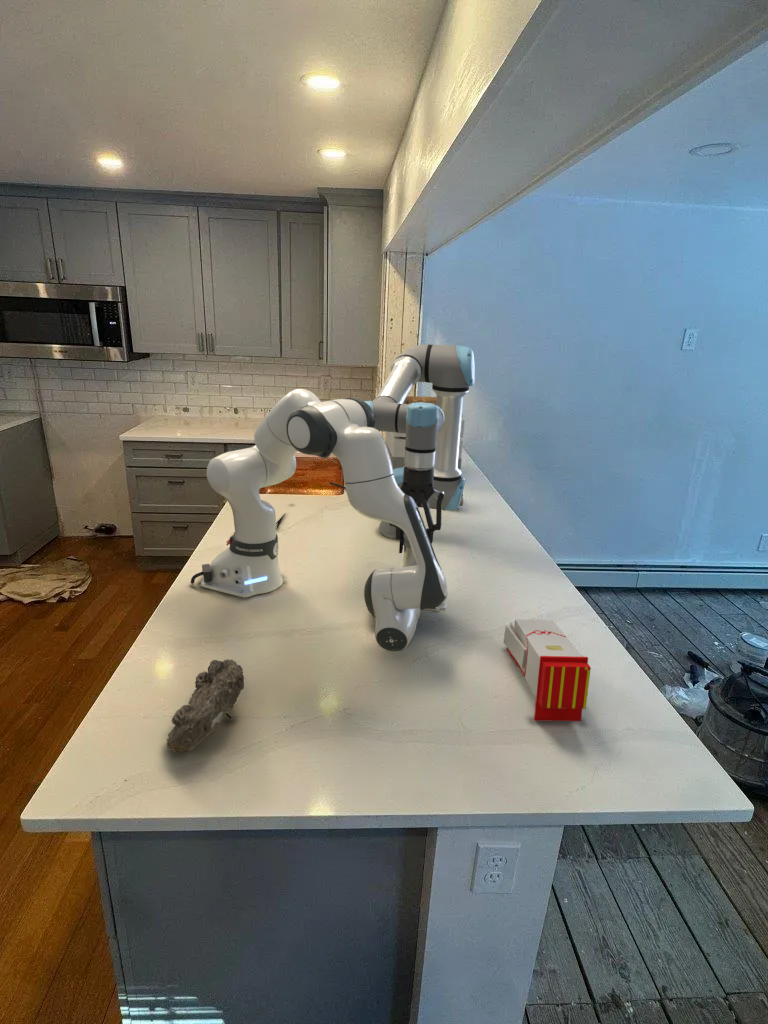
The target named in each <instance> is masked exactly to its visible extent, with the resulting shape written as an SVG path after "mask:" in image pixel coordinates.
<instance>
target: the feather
mask: <svg viewBox="0 0 768 1024" xmlns="http://www.w3.org/2000/svg"><path fill="white" fill-rule="evenodd" d="M285 515H286V513H283V515H281V517H280V518H279V519H278V520H277V521H276V531H277V530H278V528H279V526H280V525H281V522H282V520H283V519H284V517H285Z"/></svg>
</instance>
